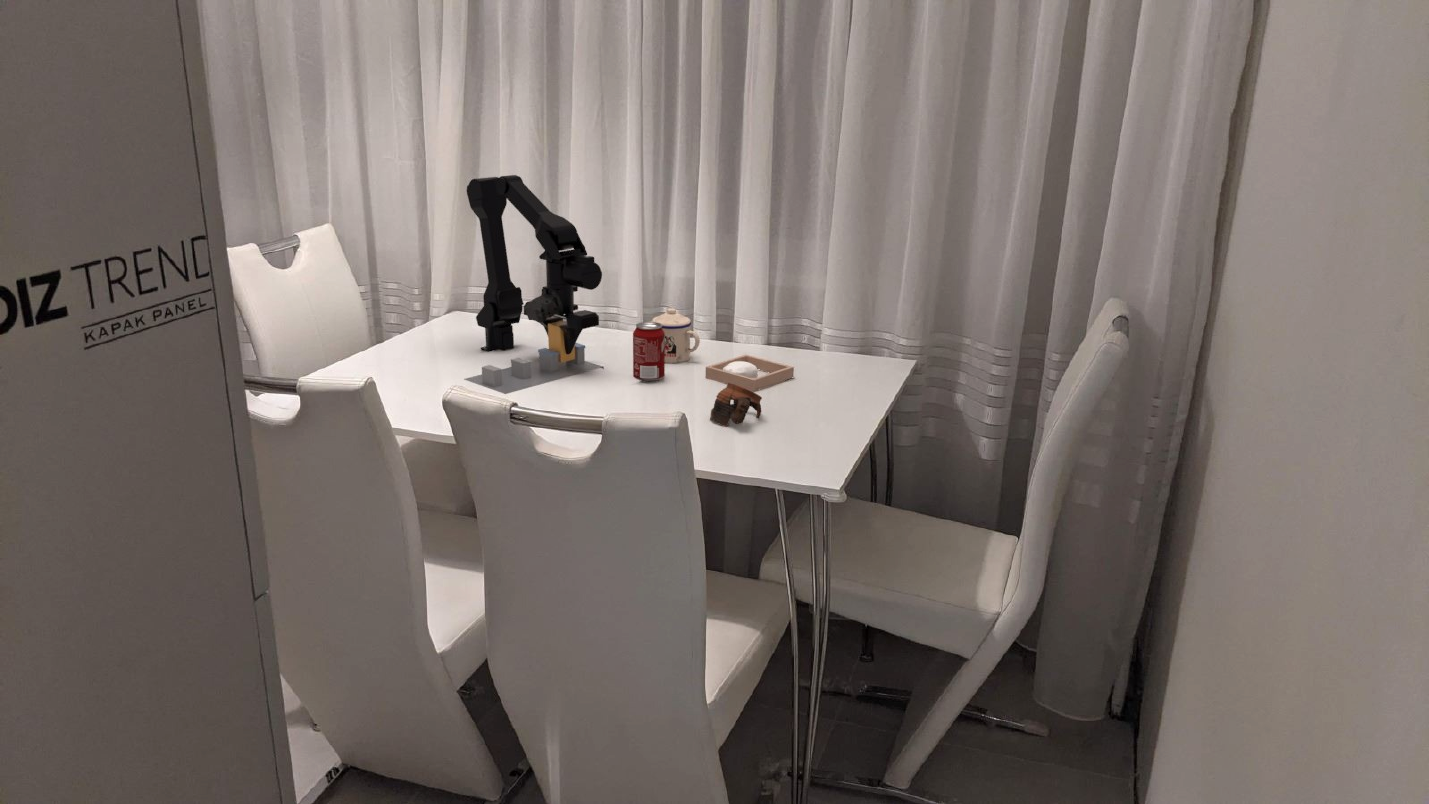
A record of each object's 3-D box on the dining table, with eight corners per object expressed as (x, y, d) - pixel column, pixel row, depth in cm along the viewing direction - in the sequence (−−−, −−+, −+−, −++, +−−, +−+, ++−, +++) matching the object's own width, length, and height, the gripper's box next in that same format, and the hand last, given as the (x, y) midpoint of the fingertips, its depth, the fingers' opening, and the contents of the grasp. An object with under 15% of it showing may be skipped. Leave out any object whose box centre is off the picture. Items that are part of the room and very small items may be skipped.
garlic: (735, 386, 227) (735, 369, 226) (714, 379, 232) (715, 362, 231) (762, 380, 232) (763, 363, 231) (742, 372, 237) (742, 356, 236)
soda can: (660, 384, 227) (660, 330, 223) (629, 382, 228) (629, 327, 224) (667, 375, 233) (668, 322, 229) (637, 373, 234) (637, 320, 230)
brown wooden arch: (701, 416, 210) (718, 378, 210) (743, 435, 212) (760, 397, 212) (716, 421, 198) (734, 381, 198) (760, 441, 200) (778, 401, 201)
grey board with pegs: (463, 383, 224) (462, 360, 223) (561, 358, 244) (561, 336, 242) (505, 398, 216) (504, 374, 214) (603, 370, 235) (603, 348, 233)
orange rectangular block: (548, 358, 234) (547, 323, 232) (562, 355, 237) (562, 320, 235) (561, 362, 232) (560, 327, 229) (574, 359, 235) (574, 323, 232)
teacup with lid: (643, 359, 244) (643, 310, 240) (665, 350, 251) (666, 302, 248) (687, 368, 238) (688, 317, 234) (709, 359, 246) (710, 309, 242)
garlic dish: (705, 377, 232) (705, 366, 231) (745, 365, 242) (745, 354, 241) (753, 391, 223) (754, 380, 223) (793, 377, 233) (793, 366, 232)
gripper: (502, 280, 229) (505, 350, 234) (559, 295, 217) (561, 368, 222) (542, 273, 237) (545, 341, 242) (600, 286, 225) (601, 357, 230)
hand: (561, 351), depth 234 cm, fingers closed on orange rectangular block, 4 cm apart
